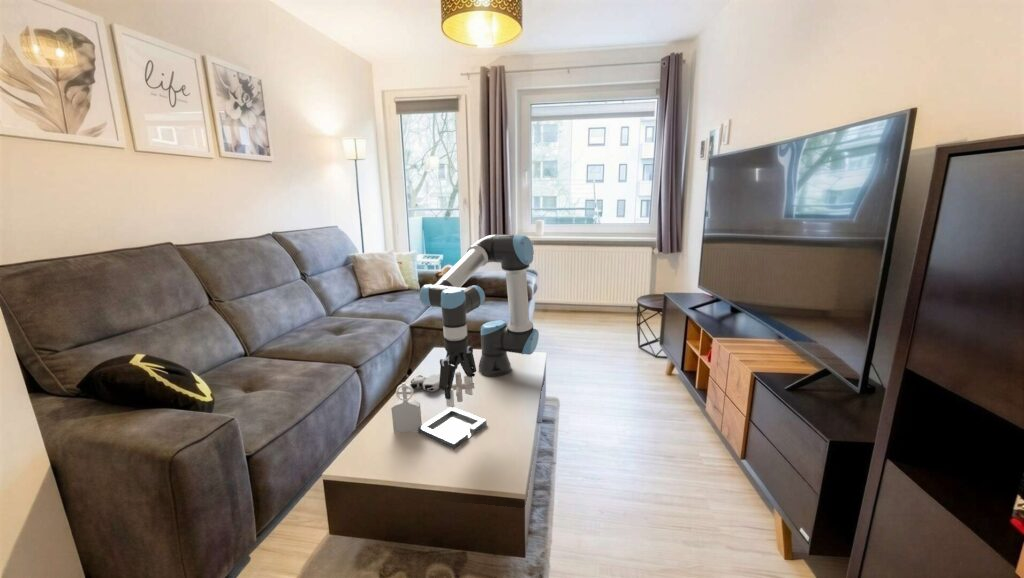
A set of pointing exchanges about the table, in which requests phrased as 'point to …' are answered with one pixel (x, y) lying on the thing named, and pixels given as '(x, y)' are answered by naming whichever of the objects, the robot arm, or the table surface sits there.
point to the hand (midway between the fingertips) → (459, 400)
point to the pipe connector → (460, 386)
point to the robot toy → (426, 382)
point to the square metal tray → (452, 427)
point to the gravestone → (406, 411)
